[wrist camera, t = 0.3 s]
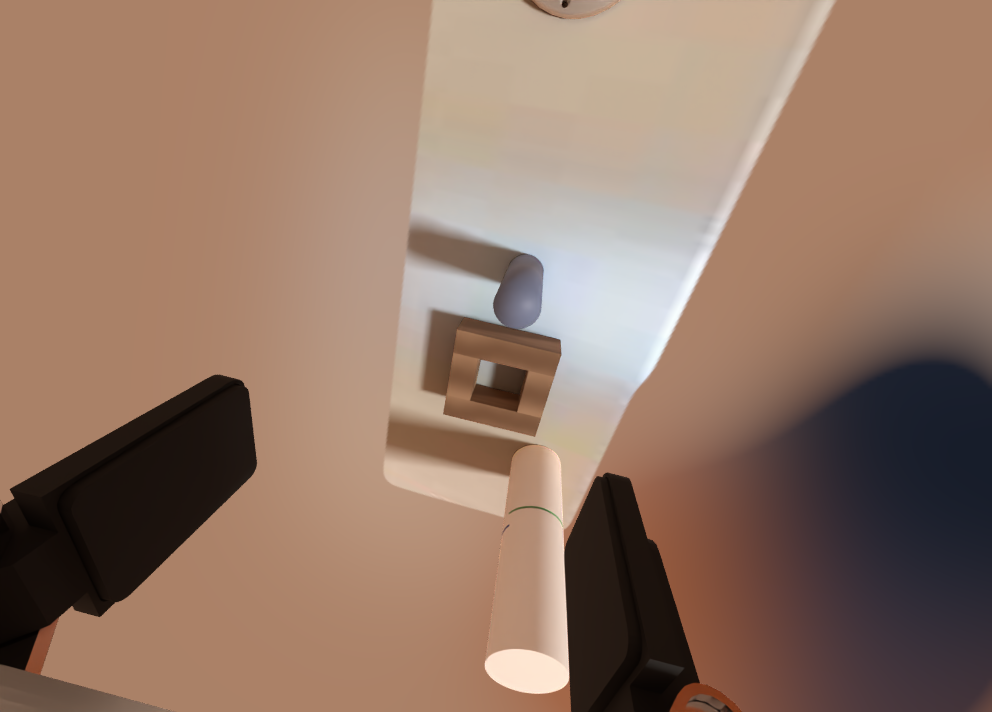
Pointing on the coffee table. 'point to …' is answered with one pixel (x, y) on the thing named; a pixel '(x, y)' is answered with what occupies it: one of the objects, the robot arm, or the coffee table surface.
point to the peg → (520, 293)
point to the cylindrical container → (531, 580)
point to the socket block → (504, 349)
